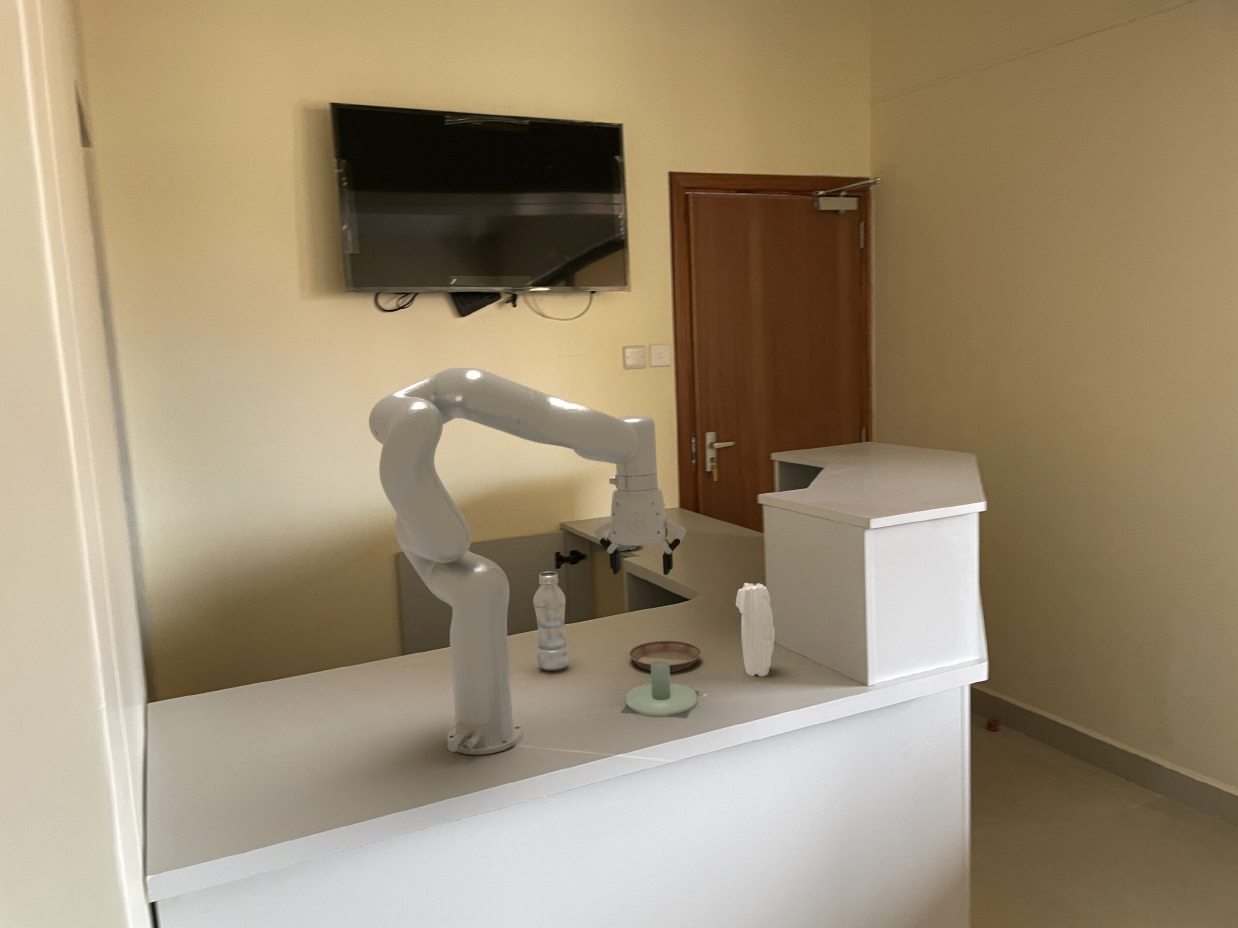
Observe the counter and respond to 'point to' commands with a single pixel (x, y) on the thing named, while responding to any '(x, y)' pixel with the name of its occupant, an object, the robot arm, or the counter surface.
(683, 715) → the mat
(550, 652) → the plastic bottle
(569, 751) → the counter surface
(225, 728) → the counter surface
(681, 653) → the saucer
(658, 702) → the lid
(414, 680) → the counter surface
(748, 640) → the lumpy white ridged column
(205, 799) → the counter surface
